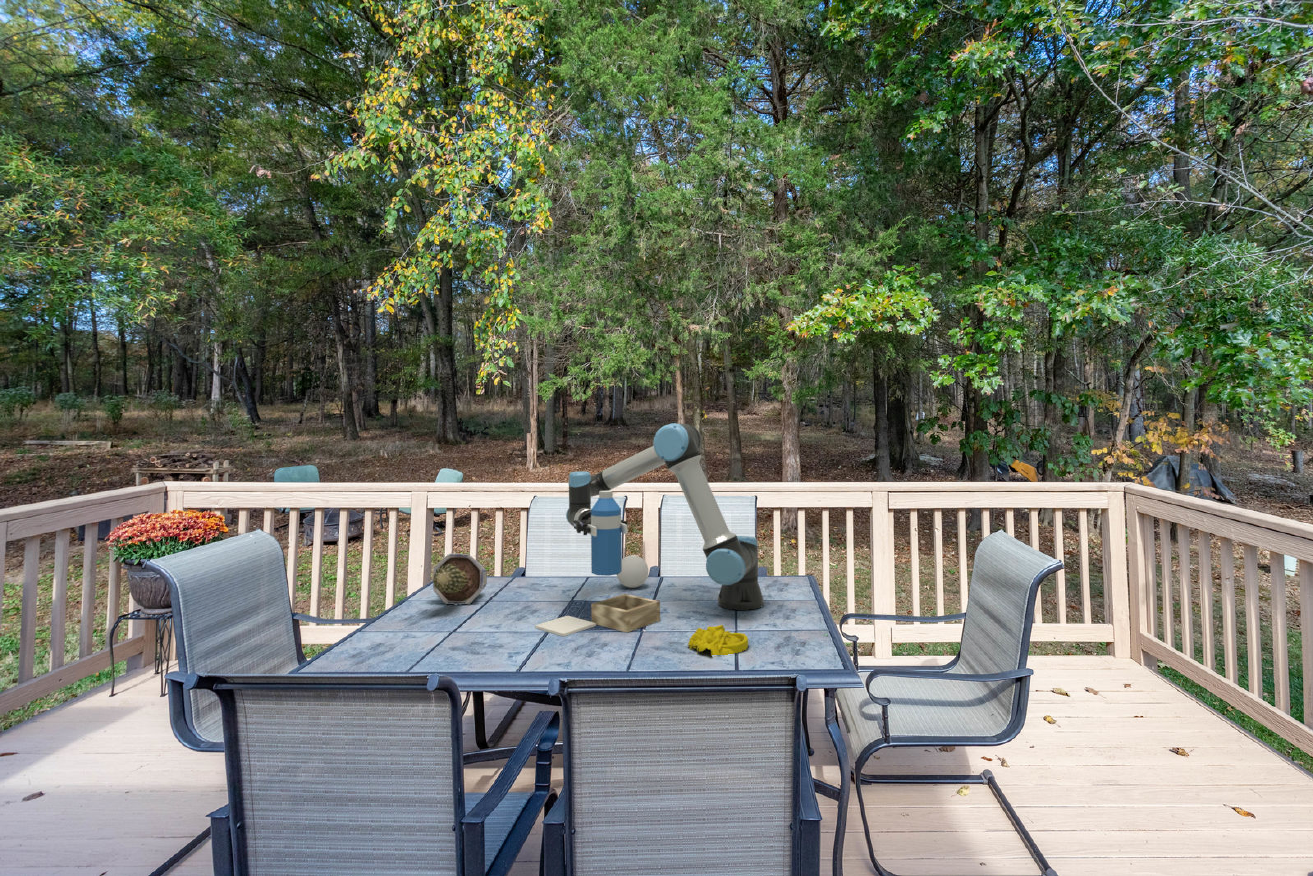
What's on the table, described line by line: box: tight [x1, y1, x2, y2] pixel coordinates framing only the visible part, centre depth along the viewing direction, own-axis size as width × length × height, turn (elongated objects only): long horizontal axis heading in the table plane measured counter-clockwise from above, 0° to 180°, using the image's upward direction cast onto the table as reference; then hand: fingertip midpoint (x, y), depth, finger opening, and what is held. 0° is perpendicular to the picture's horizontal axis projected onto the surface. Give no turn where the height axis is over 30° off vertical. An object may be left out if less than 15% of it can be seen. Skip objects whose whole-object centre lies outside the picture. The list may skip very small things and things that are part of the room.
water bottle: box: [590, 490, 622, 577], centre depth 202 cm, size 9×9×25 cm
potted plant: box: [432, 553, 488, 605], centre depth 224 cm, size 18×18×30 cm
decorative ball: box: [616, 554, 649, 589], centre depth 246 cm, size 12×12×12 cm
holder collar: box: [590, 593, 661, 633], centre depth 203 cm, size 15×15×6 cm
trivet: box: [534, 615, 597, 637], centre depth 198 cm, size 13×13×1 cm
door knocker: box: [687, 624, 749, 657], centre depth 180 cm, size 16×16×4 cm
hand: (611, 530), depth 198 cm, fingers closed on water bottle, 9 cm apart
